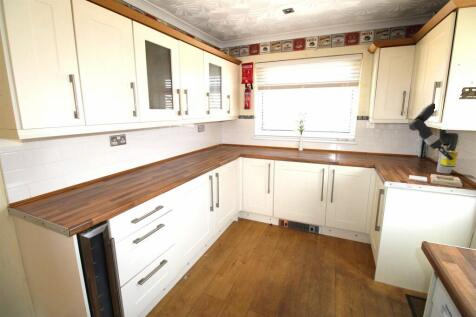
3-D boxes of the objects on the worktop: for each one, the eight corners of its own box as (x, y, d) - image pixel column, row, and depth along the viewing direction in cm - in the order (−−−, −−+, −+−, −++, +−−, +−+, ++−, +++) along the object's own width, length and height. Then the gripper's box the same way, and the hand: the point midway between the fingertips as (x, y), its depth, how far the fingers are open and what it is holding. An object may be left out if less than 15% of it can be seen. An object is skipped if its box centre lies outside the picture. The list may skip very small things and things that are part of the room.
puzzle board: (430, 177, 185) (430, 174, 184) (457, 180, 175) (458, 177, 175) (431, 183, 169) (432, 179, 168) (461, 187, 160) (462, 183, 159)
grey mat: (409, 176, 187) (409, 175, 187) (426, 178, 181) (426, 177, 180) (408, 179, 178) (408, 178, 177) (427, 182, 171) (427, 181, 171)
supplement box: (455, 167, 167) (458, 152, 164) (445, 167, 168) (448, 151, 165) (449, 165, 172) (452, 150, 170) (440, 165, 173) (442, 150, 171)
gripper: (439, 139, 165) (458, 157, 160) (438, 137, 176) (456, 153, 171) (428, 145, 169) (446, 163, 164) (427, 143, 180) (445, 160, 176)
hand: (451, 158), depth 168 cm, fingers closed on supplement box, 8 cm apart
